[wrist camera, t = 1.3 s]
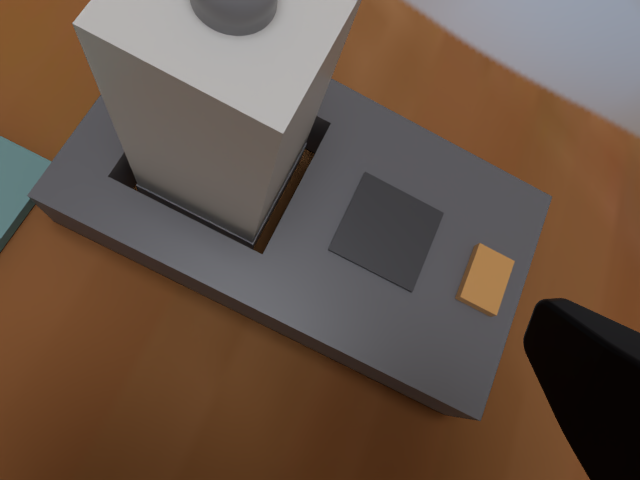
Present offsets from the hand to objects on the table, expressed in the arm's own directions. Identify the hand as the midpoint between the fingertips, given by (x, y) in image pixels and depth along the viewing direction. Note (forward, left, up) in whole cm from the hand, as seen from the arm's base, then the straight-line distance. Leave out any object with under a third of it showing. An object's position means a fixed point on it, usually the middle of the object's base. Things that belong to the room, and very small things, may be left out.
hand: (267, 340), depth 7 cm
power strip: (+7, 0, -13) cm, 15 cm away
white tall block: (+7, +4, -13) cm, 15 cm away
